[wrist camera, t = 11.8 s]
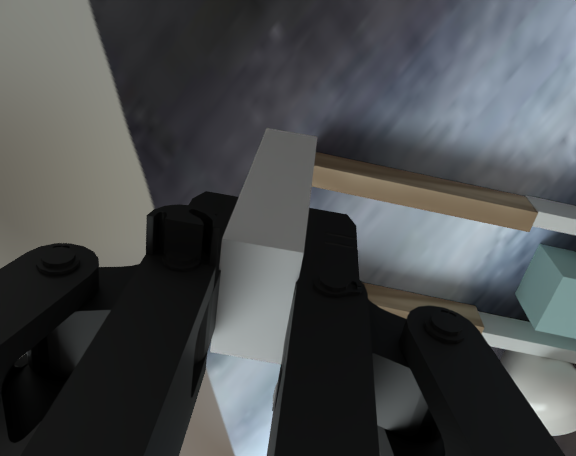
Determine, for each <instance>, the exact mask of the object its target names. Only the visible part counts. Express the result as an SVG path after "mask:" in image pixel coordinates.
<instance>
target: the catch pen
mask: <svg viewBox="0 0 576 456" xmlns="http://www.w3.org/2000/svg"><path fill="white" fill-rule="evenodd" d="M525 197H526V198H527V200H528V201H529V202H530V203H531V205H532V206H533V207H534V208H535V210H536V211H537V212H538V215H537V217H536V219H535V221H534V223H533V225H532V226H534V227H538V228H543V229H548V230H553V231H557V232H562V233H567V234H571V235H576V206H574V205H570V204H565V203H560V202H556V201H551V200H546V199H541V198H537V197H532V196H527V195H525ZM478 313H479V315H480V318H481V320H482V322H483V325H484V327H485V328H484V330H483V332H482V335H483V337H484V338H485V340H486V341H487V343H488V344H489V346H492V347H497V348H502V349H507V350H511V351H516V352H521V353H526V354H531V355H536V356H541V357H546V358H550V359H555V360H560V361H565V362H570V363H575V364H576V339H574V338H569V337H564V336H560V335H555V334H550V333H545V332H541V331H536V330H534V328H533V326H532V324H531V322H527V321H522V320H518V319H513V318H508V317H503V316H498V315H493V314H488V313H484V312H479V311H478Z"/></svg>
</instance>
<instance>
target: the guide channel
mask: <svg viewBox="0 0 576 456" xmlns="http://www.w3.org/2000/svg"><path fill="white" fill-rule="evenodd" d="M312 186H313V187H317V188H322V189H327V190H332V191H336V192H341V193H346V194H351V195H355V196H360V197H365V198H370V199H374V200H379V201H384V202H389V203H393V204H398V205H403V206H408V207H412V208H417V209H422V210H427V211H431V212H436V213H441V214H446V215H450V216H455V217H460V218H465V219H469V220H474V221H479V222H484V223H488V224H493V225H498V226H503V227H507V228H512V229H517V230H522V231H526V232H530V229H531V227H532V225H533V223H534V221H535V219H536V217H537V215H538V212H537V211H536V210H535V208H534V207H533V206H532V205H531V203H530V202H529V201H528V200H527V198H526V197H525V196H521V195H517V194H512V193H507V192H502V191H498V190H493V189H488V188H484V187H479V186H474V185H469V184H465V183H460V182H455V181H451V180H446V179H441V178H436V177H432V176H427V175H422V174H418V173H413V172H408V171H403V170H399V169H394V168H389V167H385V166H380V165H375V164H370V163H366V162H361V161H356V160H352V159H347V158H342V157H337V156H333V155H328V154H323V153H319V152H316V154H315V162H314V171H313V179H312ZM362 283H363V282H362ZM363 284H364V285H365V288H366V290H367V293H368V299H369V300H370V301H371V302H372V303H374V304H375V305H377V306H378V307H380V308H382V309H384V310H386V311H388V312H390V313H393V314H395V315H398V316H400V317H403V318H405V319H407V316H408V314H409V312H410V311H411V310H413V309H415V308H417V307H420V306H428V305H431V306H437V307H444V308H447V309H449V310H452V311H455V312H457V313H459V314H460V315H462V316H463V317H465V318H467V319H468V320H470V321H471V322H472V323H473V324H474V326H475V327H476V328H477V329H478V330H479V331H480V333H481V334H482V332H483V330H484V328H485V327H484V325H483V322H482V320H481V318H480V315H479V313H478V310H477V308H476V306H474V305H469V304H464V303H460V302H455V301H450V300H445V299H440V298H435V297H430V296H426V295H421V294H416V293H411V292H406V291H401V290H397V289H392V288H387V287H382V286H377V285H372V284H368V283H363Z"/></svg>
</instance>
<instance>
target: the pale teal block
mask: <svg viewBox="0 0 576 456" xmlns="http://www.w3.org/2000/svg"><path fill="white" fill-rule="evenodd" d="M515 295H516V297H517V299H518V300H519V302H520V304H521V306H522V308H523V310H524V311H525V313H526V315H527V317H528V319H529V321H530V322H531V324H532V326H533V328H534V330H536V331H541V332H545V333H550V334H555V335H560V336H564V337H569V338H574V339H576V252H575V251H571V250H566V249H561V248H557V247H552V246H547V245H543V244H539V246H538V248H537V250H536V252H535V254H534V256H533V258H532V260H531V262H530V264H529V266H528V268H527V270H526V272H525V274H524V276H523V278H522V281H521V283H520V285H519V287H518V289H517V291H516V293H515Z"/></svg>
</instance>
